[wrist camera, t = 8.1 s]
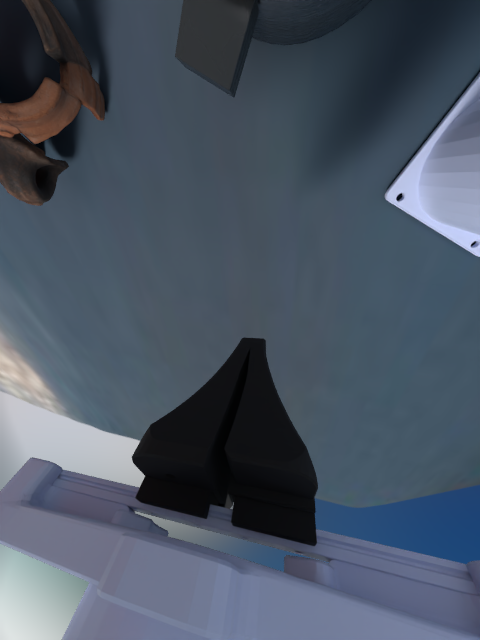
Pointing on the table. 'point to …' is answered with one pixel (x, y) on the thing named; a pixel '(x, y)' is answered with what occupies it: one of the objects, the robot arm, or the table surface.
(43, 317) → the table surface
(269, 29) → the cooker pot
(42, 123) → the pottery mug
